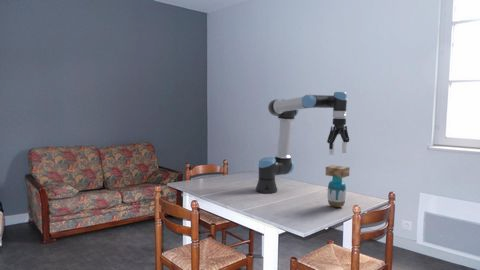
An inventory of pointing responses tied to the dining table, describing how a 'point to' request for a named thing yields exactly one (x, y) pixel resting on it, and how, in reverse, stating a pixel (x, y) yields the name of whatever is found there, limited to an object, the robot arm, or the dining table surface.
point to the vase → (336, 192)
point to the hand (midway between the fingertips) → (337, 153)
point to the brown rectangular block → (337, 171)
